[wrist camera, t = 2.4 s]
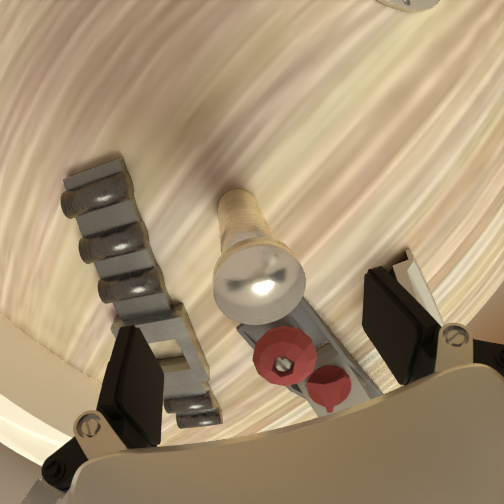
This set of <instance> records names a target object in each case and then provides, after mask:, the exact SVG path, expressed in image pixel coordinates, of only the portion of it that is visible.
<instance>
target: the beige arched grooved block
mask: <svg viewBox="0 0 504 504" xmlns="http://www.w3.org/2000/svg"><path fill="white" fill-rule="evenodd" d="M405 251H406V254H407V257H408V259H409V260H406V261H403V262H401V263H398V264H395V265H393V269H394V270H392V271H390V272H391V275H392V276H393V277H394V278H395V279H396V280H397V281H398V282H399V283H400V284H401V285H402V286H403V287H404V288H405V289H406V290H407V291H408V292H409V293H410V294H411V295H412V296H413V297H414V298H415V299H416V300H417V301H418V302H419V303H420V304H421V305H422V306H423V307H424V308H425V309H426V310H427V311H428V313H429V314H430V315H431V316H432V317H433V318H434V319H435V320H436V321H437V322H438V323H439V324H440V325H441V327H442V326H444V323H443V320H442V318H441V315H440V313H439V310H438V308H437V306H436V303H435V301H434V299H433V296H432V294H431V292H430V290H429V288H428V285H427V283H426V281H425V279H424V277H423V275H422V273H421V271H420V268H419V266H418V264H417V262H416V260H415V258H414V256H413V254H412V253H411V251H410V249H409V248H408V249H406V250H405Z"/></svg>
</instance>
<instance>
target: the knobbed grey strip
mask: <svg viewBox="0 0 504 504" xmlns="http://www.w3.org/2000/svg"><path fill="white" fill-rule="evenodd" d="M63 182H64V185H65V188H66V191H65V192H63V193H62V195H61V207H62V210H63V213H64V214H65V216H66V217H67V218H69V219H72V218H75V217H76V220H77V223H78V225H79V228H80V231H81V233H82V236H83V237H82V238H81V239H80V241H79V253H80V256H81V258H82V260H83V261H84V262H85V263H86V264H90V263H94V265H95V267H96V269H97V271H98V273H99V276H100V278H101V279H100V280H99V282H98V293H99V296H100V298H101V300H102V301H103V302H104V303H105V304H107V303H113V305H114V306H115V308H116V310H117V312H118V314H119V315H116V316H115V318H114V321H113V324H112V327H111V331H112V333H113V334H114V336H115V338H117V335H118V331H119V329H120V327H122V326H128V325H134V326H135V327H136V328H137V327H139V328H140V330H141V331H142V333H143V335H144V337H145V339H146V341H147V343H153V342H159V341H165V340H171V339H176V340H177V342H178V344H179V346H180V348H181V350H182V352H183V354H184V356H181V357H175V358H168V359H161V360H157V361H158V363H159V365H160V366H161V368H162V370H163V372H164V391H163V397H164V400H163V402H164V408H165V410H166V412H167V413H168V414H169V413H175V414H176V421H177V425H178V427H179V428H180V429H183V428H193V427H202V426H210V425H217V424H223V418H222V410H221V408H220V406H219V404H218V402H217V400H216V398H215V397H214V395H213V393H212V391H211V389H210V387H209V385H208V383H207V381H210V372H209V365H208V363H207V360H206V358H205V356H204V353H203V351H202V349H201V346H200V344H199V342H198V339H197V337H196V334H195V332H194V329H193V327H192V325H191V322H190V320H189V317H188V315H187V312H186V309H185V307H184V304H183V303H180V304H175V305H172V302H171V300H170V297H169V295H168V292H167V290H166V287H165V282H164V277H163V274H162V271H161V269H160V267H159V266H157V264H156V261H155V258H154V255H153V253H152V250H151V247H150V244H149V236H148V231H147V228H146V226H145V224H144V222H143V221H141V218H140V214H139V211H138V208H137V205H136V202H135V199H134V189H133V183H132V180H131V177H130V175H129V173H128V172H127V171H126V168H125V164H124V160H123V157H122V158H119V159H116V160H113V161H110V162H107V163H104V164H101V165H99V166H96V167H93V168H90V169H88V170H85V171H82V172H80V173H77V174H75V175H72V176H70V177H67V178H66V179H64V180H63Z"/></svg>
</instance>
